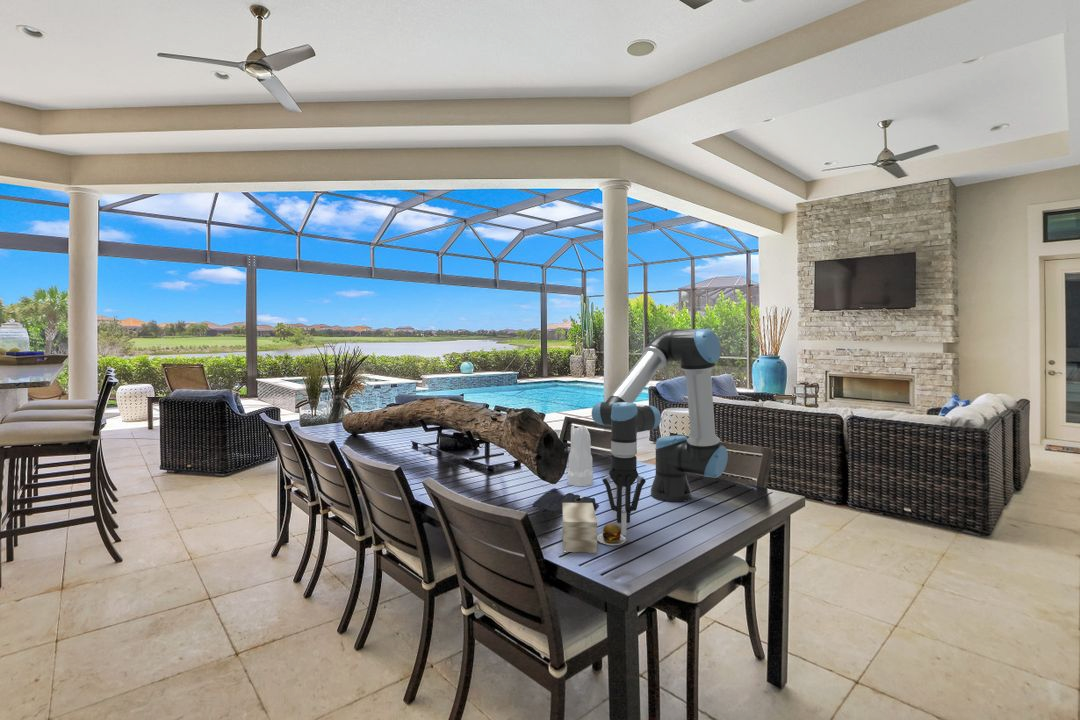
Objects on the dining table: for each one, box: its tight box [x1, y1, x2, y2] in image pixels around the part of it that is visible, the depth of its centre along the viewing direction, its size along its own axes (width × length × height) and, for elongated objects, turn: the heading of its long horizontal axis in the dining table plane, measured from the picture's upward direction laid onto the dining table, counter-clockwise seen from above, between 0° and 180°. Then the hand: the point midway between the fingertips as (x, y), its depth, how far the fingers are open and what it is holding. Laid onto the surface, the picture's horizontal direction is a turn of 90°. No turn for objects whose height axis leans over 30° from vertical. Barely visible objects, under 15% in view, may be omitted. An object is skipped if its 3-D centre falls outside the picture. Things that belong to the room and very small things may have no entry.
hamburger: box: [597, 522, 627, 546], centre depth 152 cm, size 12×12×6 cm
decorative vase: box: [567, 424, 594, 487], centre depth 213 cm, size 11×11×25 cm
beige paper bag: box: [561, 503, 598, 554], centre depth 151 cm, size 10×17×9 cm, turn 178°
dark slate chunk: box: [532, 491, 600, 514], centre depth 183 cm, size 15×22×5 cm
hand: (623, 533), depth 151 cm, fingers closed
